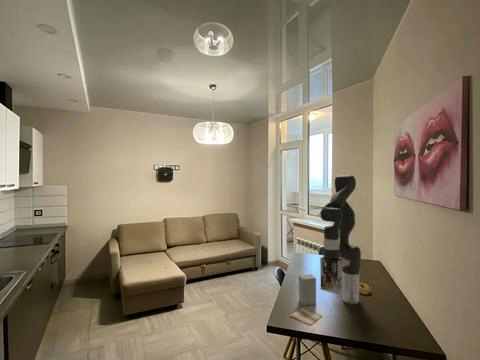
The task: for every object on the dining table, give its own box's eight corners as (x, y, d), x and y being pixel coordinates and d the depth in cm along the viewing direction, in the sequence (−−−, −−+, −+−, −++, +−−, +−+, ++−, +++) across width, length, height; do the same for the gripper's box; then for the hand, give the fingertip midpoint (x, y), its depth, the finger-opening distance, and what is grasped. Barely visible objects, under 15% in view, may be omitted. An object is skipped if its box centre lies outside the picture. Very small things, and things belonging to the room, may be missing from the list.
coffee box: (342, 290, 130) (342, 258, 130) (337, 294, 125) (338, 261, 125) (325, 285, 136) (325, 254, 136) (319, 289, 131) (320, 257, 131)
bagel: (356, 294, 163) (356, 287, 163) (351, 287, 174) (351, 280, 174) (373, 295, 161) (373, 288, 161) (367, 288, 172) (367, 281, 172)
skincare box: (311, 299, 156) (311, 273, 156) (316, 305, 149) (317, 277, 149) (298, 300, 154) (298, 274, 154) (303, 306, 147) (303, 278, 147)
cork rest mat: (301, 308, 145) (301, 307, 145) (321, 316, 137) (321, 314, 137) (290, 316, 136) (290, 315, 136) (310, 325, 128) (310, 324, 128)
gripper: (330, 243, 138) (330, 274, 138) (317, 248, 127) (317, 282, 128) (344, 245, 133) (344, 278, 133) (332, 251, 122) (332, 286, 122)
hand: (331, 280), depth 130 cm, fingers closed on coffee box, 6 cm apart
